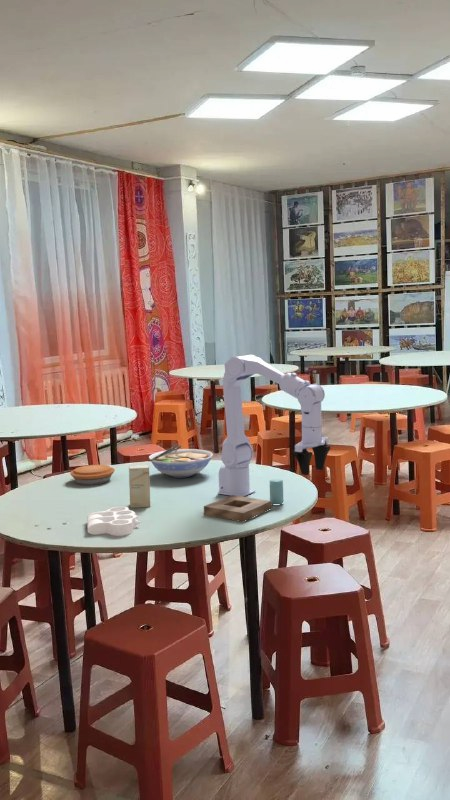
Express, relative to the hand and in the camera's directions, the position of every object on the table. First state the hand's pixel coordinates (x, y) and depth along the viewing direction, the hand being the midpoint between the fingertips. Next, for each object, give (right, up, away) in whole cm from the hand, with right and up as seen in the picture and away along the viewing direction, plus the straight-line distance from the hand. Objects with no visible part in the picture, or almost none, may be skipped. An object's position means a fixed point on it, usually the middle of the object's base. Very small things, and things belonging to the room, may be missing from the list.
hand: (312, 471), depth 211 cm
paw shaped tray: (-56, -14, -12) cm, 59 cm away
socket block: (-22, -11, -3) cm, 25 cm away
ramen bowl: (-41, -6, +45) cm, 61 cm away
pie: (-72, -8, +42) cm, 84 cm away
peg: (-10, -10, +4) cm, 15 cm away
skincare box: (-51, -11, +8) cm, 53 cm away
